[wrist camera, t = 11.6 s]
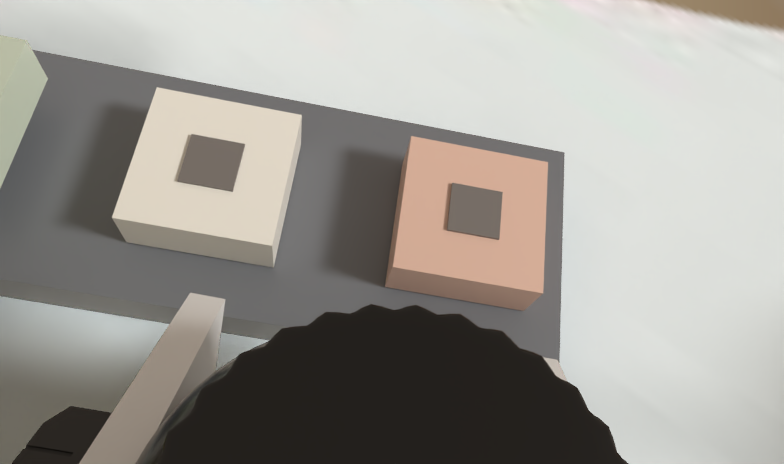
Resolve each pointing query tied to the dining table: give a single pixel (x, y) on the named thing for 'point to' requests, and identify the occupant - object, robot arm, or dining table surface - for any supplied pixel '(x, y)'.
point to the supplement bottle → (384, 399)
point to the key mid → (210, 178)
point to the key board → (220, 276)
